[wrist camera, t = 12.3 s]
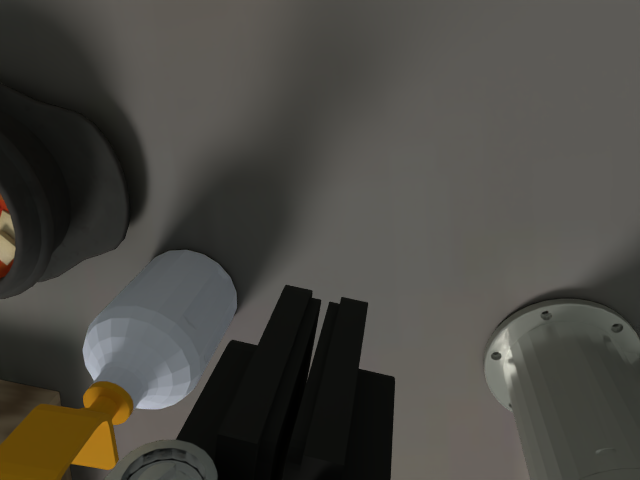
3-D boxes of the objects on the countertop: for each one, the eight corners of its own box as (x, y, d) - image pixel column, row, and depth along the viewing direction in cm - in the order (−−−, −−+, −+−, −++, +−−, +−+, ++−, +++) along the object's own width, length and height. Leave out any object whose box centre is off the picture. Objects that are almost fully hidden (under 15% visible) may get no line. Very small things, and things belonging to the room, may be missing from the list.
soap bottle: (149, 326, 50) (-55, 585, 28) (140, 241, 46) (-108, 464, 24) (239, 338, 49) (100, 617, 27) (237, 252, 45) (72, 496, 23)
